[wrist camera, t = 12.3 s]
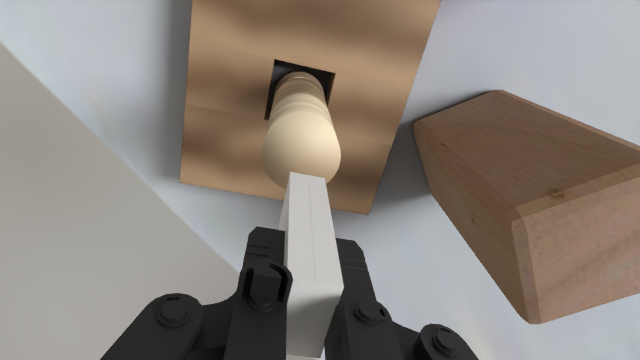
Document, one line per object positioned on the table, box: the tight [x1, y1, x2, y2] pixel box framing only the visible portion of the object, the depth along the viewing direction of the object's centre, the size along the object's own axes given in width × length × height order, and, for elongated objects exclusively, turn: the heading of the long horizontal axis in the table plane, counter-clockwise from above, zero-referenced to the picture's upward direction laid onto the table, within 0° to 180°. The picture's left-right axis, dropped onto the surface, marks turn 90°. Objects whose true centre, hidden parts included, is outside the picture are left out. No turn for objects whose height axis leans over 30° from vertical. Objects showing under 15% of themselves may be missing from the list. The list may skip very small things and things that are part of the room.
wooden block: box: [413, 90, 640, 324], centre depth 31 cm, size 10×10×20 cm
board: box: [180, 0, 441, 215], centre depth 34 cm, size 22×20×4 cm
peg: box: [262, 70, 341, 189], centre depth 28 cm, size 5×5×18 cm
